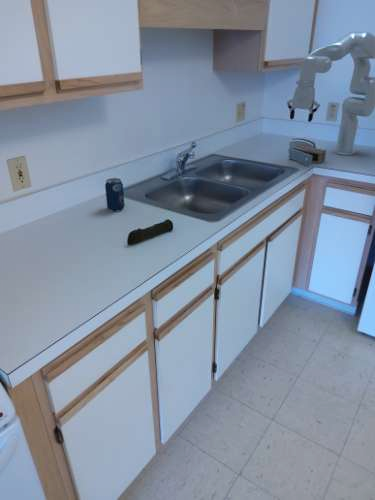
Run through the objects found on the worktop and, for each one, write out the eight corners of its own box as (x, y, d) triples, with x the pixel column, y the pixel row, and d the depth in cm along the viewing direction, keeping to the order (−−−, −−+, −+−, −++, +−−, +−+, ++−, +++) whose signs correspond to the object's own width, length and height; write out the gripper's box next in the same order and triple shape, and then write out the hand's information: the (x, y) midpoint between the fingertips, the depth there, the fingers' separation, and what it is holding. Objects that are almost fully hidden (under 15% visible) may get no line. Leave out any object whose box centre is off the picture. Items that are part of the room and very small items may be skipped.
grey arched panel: (317, 153, 233) (317, 138, 226) (314, 158, 231) (314, 143, 224) (292, 149, 242) (291, 134, 236) (288, 153, 240) (287, 138, 233)
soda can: (125, 211, 155) (123, 182, 149) (107, 212, 154) (104, 184, 148) (124, 205, 161) (122, 177, 155) (107, 206, 160) (104, 178, 154)
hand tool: (166, 227, 143) (166, 215, 141) (173, 231, 140) (173, 219, 138) (123, 243, 132) (122, 231, 130) (130, 247, 130) (128, 235, 127)
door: (289, 157, 223) (291, 148, 220) (311, 165, 210) (312, 155, 207) (286, 157, 222) (288, 148, 220) (307, 165, 209) (309, 156, 206)
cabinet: (296, 155, 229) (297, 145, 226) (324, 160, 220) (326, 150, 217) (290, 158, 223) (291, 148, 220) (319, 164, 214) (321, 152, 211)
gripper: (286, 83, 195) (282, 119, 203) (320, 86, 186) (314, 123, 194) (292, 82, 200) (288, 117, 208) (325, 85, 191) (319, 121, 199)
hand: (300, 120), depth 201 cm, fingers open, 9 cm apart
